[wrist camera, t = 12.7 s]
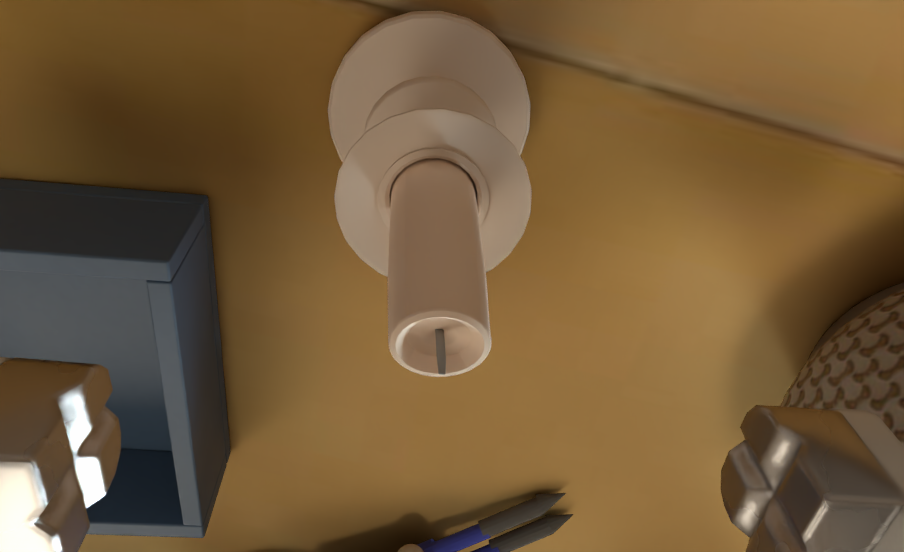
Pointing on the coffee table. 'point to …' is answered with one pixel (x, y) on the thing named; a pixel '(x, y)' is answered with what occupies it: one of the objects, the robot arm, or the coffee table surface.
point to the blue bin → (126, 335)
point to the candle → (432, 177)
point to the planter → (859, 363)
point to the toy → (502, 529)
